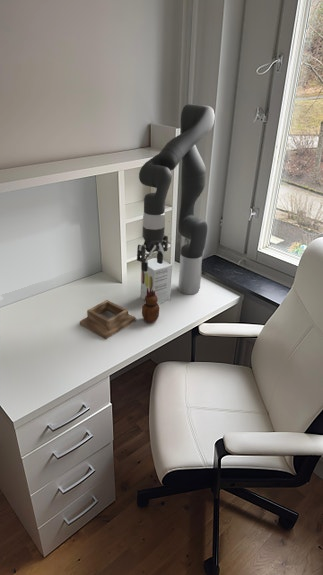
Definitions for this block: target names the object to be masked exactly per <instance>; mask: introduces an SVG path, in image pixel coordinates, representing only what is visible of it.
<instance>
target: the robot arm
mask: <svg viewBox="0 0 323 575" xmlns="http://www.w3.org/2000/svg"><path fill="white" fill-rule="evenodd" d="M215 118H216V116H215V111H214V109H213V107H211V106H209V105H202V104H193V103H189V104H188V103H187V104H185V105H184V106H183V108H182V110H181V115H180V134H178V135H177V136H174V137H173V138H172V139H170V140H169V141H168V142H167V143H166V144H165V145H164V147H163V148H162V149H161V150H160V151H159V153H158V154H156V155H154V156H153V157H152V158H150V159H149V160H147V161H146V162H145V163H143V165H142V166H141V168H140V169H139V173H138V179H139V182H140V183H141V184H142V185H144V186H147V187H152V188H155V189H156V190H155V192H150V193H147V194H145V196H144V197H143V216H142V238H143V240H144V242H143V244H138V245H137V251H136V252H137V253H136V260H137V262H140V263H141V265H140V268H141V269H142V271H145V272H146V271H148V262H147V261H148V260H150V259H149V258H151V257H152V255H153V254H155V252H156V258H157V263H159V264H162V263H163V260H164V254H165V253H166V252H167V251H168V247H169V245H168V243H169V242H168V239H169V238H168V235H165V226H166V215H165V209H166V198H167V196H168V193H169V188H170V186H171V183H172V178H173V175H172V172H171V171H173V170H174V169H176V168H177V166H178V165H179V163H180V162H181V176H180V178H181V180H180V182H181V183H180V184H181V189H180V190H181V193H180V208H179V215H178V216H179V218H178V224H177V225H178V227H177V228H178V233H179V235H180V236H181V237H183V238H185V239H188V240H190V243H187V244H184V245H182V246H181V247H180V248H181V249H180V257H179V274H178V283H177V284H178V286H177V288H178V292H180V293H182V294H185V295H195V294H197V293H198V292H199V291H200V288H201V280H202V270H203V269H202V265H203V264H202V263H203V253H204V250H205V248H206V241H207V235H208V224H207V222H206V221H205V220H204V219H202V218H199V217H196V216H195V213H194V212H195V205H196V202H197V200H198V199H199V198H200V196H201V194H202V193H203V190H204V189H205V186H206V173H207V168H206V165H205V163H204V160H203V158H202V156H201V155H200V152H199V150H198V147H197V146H196V145H197V143H198V142H200V141H201V140H202V139H203V138H204V137H205V136H206V135H207V134H209V133H210V131H211V130H212V128H213V126H214V124H215ZM141 269H140V270H141Z"/></svg>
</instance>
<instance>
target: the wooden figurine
mask: <svg viewBox="0 0 323 575" xmlns="http://www.w3.org/2000/svg"><path fill="white" fill-rule="evenodd" d="M143 300H144V303H143V304H142V307H141V317H142V320H144V322H145V323H148V324H149V323H150V324H151V323H155V322H156V321H157V320H159V317H160V312H161V311H160V309H161V308H160V304H157V301H158V298H157V296H156V295H155V291H154V292H153V290H152V291H151V288H150V292H149V291H148V288H147V295H146V296H145V299H143Z"/></svg>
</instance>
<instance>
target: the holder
mask: <svg viewBox="0 0 323 575" xmlns="http://www.w3.org/2000/svg"><path fill="white" fill-rule="evenodd" d="M86 313H87V316H86V317H84V318H83V319H81V320H79V325H81V326H82V327H84V328H85V329H87V330H89V331H90V332H92V333H95V334H96V335H98V336H100V337H101V338H103V339H105V340H107V339H109V338H111V337H112V336H114V335H115V334H117V333H119V332H120V331H122V330H123V329H125V328H126V327H128V326H129V325H131V324H133V323H135V322H136V321H137V317H136V316H134V315H132V314H130V313H129V310H128V309H126V308H124V307H122V306H120V305H118V304H116V303H114V302H112V301H111V300H108V299H105V300H104V301H102V302H100V303H99V304H97V305H95V306H93V307H91V308H89V309H87V310H86Z"/></svg>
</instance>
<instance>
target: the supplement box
mask: <svg viewBox="0 0 323 575" xmlns="http://www.w3.org/2000/svg"><path fill="white" fill-rule="evenodd" d="M147 262H148V271H146V272H145V271H142V269H140V270H141V271H140V298H142V299H143V300H144V299H145V296H146V295H147V288H148V291H149V292H150V288H151V291H152V290H153V292H154V291H155V295H156V296H157V298H158V301H157V304H158V305H160V304H164V303H166V302H168V301H171V291H172V289H171V288H172V276H173V275H172V273H173V264H171V263H169V262H168V261H166V260H165V259H163V263H162V264H159V263H157V257H155V258H154V257H153V258H150V259H148V261H147Z"/></svg>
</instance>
